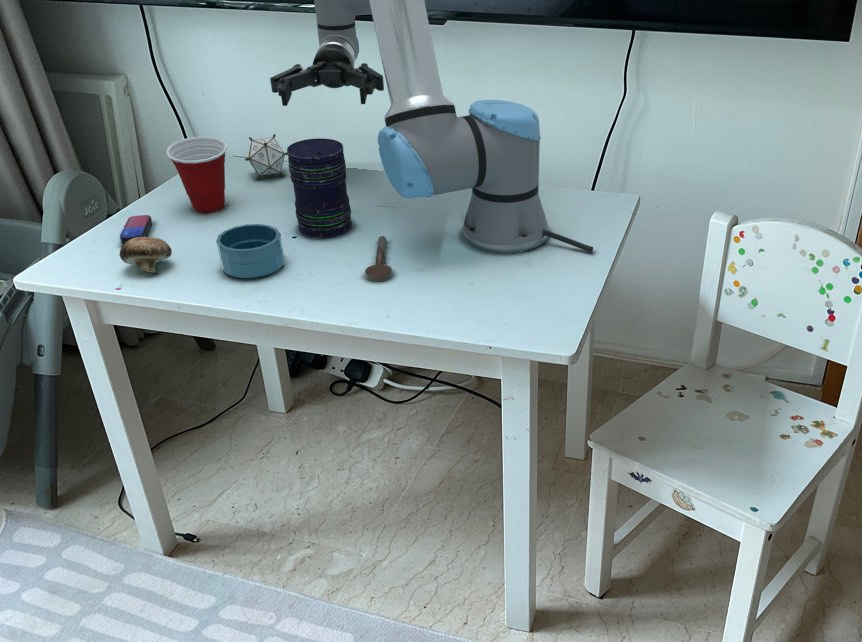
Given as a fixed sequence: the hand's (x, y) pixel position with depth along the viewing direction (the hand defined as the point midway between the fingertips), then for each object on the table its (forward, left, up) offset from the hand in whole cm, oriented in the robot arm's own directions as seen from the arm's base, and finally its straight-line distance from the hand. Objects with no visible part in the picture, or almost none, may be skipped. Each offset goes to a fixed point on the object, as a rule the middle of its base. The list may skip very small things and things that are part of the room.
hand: (323, 97), depth 156 cm
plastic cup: (+25, +4, -22) cm, 33 cm away
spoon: (-16, +16, -22) cm, 32 cm away
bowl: (+4, +24, -22) cm, 32 cm away
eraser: (+31, +18, -22) cm, 42 cm away
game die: (+22, -14, -22) cm, 34 cm away
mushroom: (+21, +29, -22) cm, 42 cm away
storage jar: (0, +6, -22) cm, 23 cm away
